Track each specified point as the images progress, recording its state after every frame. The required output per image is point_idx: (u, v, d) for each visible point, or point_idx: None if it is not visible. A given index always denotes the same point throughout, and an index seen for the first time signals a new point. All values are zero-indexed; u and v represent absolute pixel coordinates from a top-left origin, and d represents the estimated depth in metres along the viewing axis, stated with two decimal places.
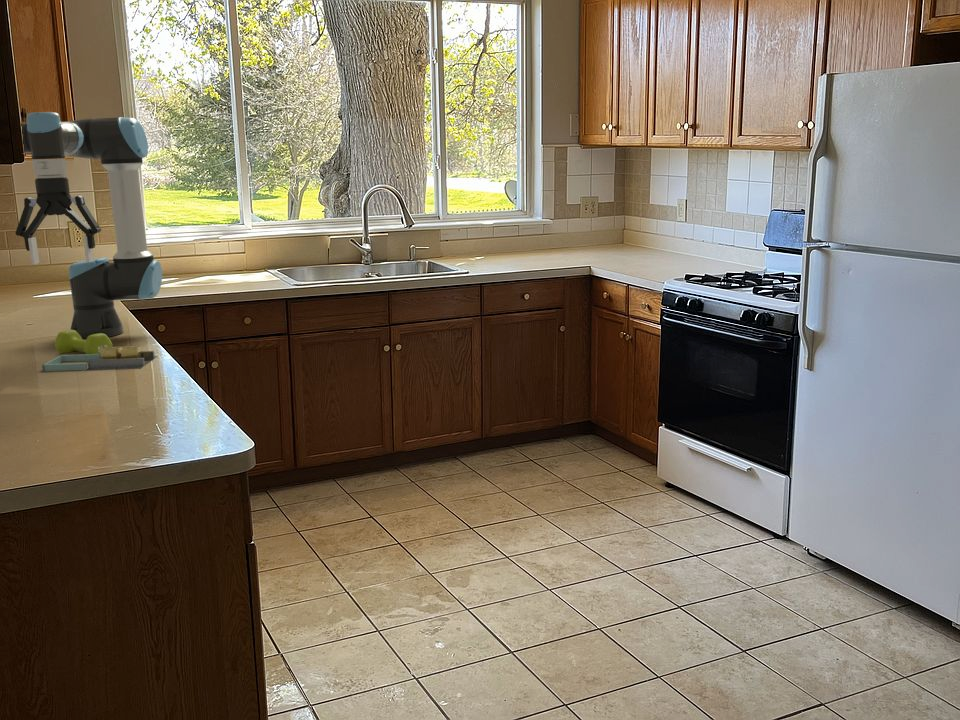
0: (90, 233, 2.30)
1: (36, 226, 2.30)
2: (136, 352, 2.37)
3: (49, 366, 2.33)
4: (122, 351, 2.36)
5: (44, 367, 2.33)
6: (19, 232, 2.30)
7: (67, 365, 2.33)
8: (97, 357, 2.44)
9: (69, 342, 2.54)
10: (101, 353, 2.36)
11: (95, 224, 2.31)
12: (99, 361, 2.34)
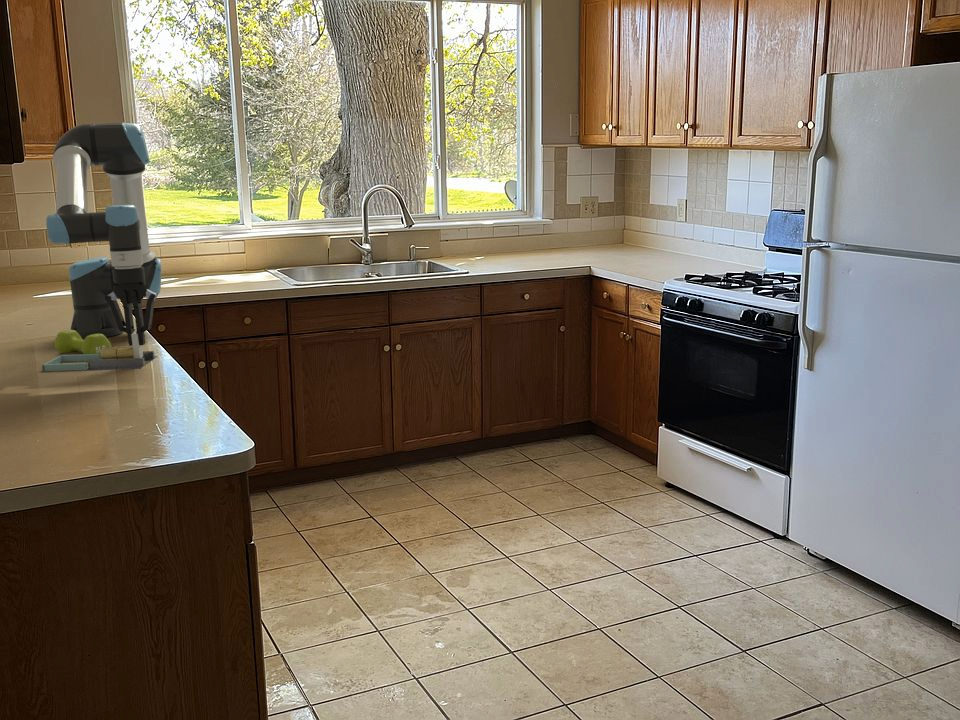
0: (140, 332, 2.36)
1: (131, 318, 2.36)
2: (131, 352, 2.37)
3: (49, 366, 2.33)
4: (118, 351, 2.37)
5: (44, 367, 2.33)
6: (122, 327, 2.36)
7: (67, 365, 2.33)
8: (97, 357, 2.44)
9: (68, 342, 2.54)
10: (101, 353, 2.36)
11: (149, 323, 2.37)
12: (99, 361, 2.34)
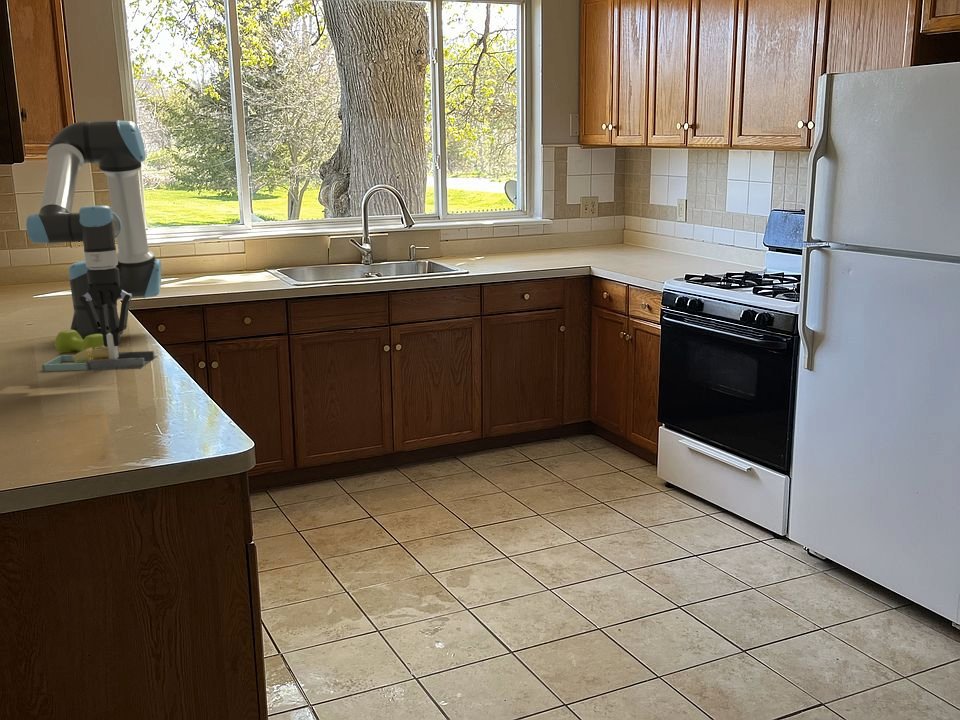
0: (115, 333, 2.36)
1: (106, 319, 2.36)
2: (106, 353, 2.37)
3: (49, 366, 2.33)
4: (93, 352, 2.37)
5: (44, 367, 2.33)
6: (97, 328, 2.36)
7: (67, 365, 2.33)
8: None
9: (68, 342, 2.54)
10: (74, 358, 2.37)
11: (125, 323, 2.37)
12: (99, 361, 2.34)
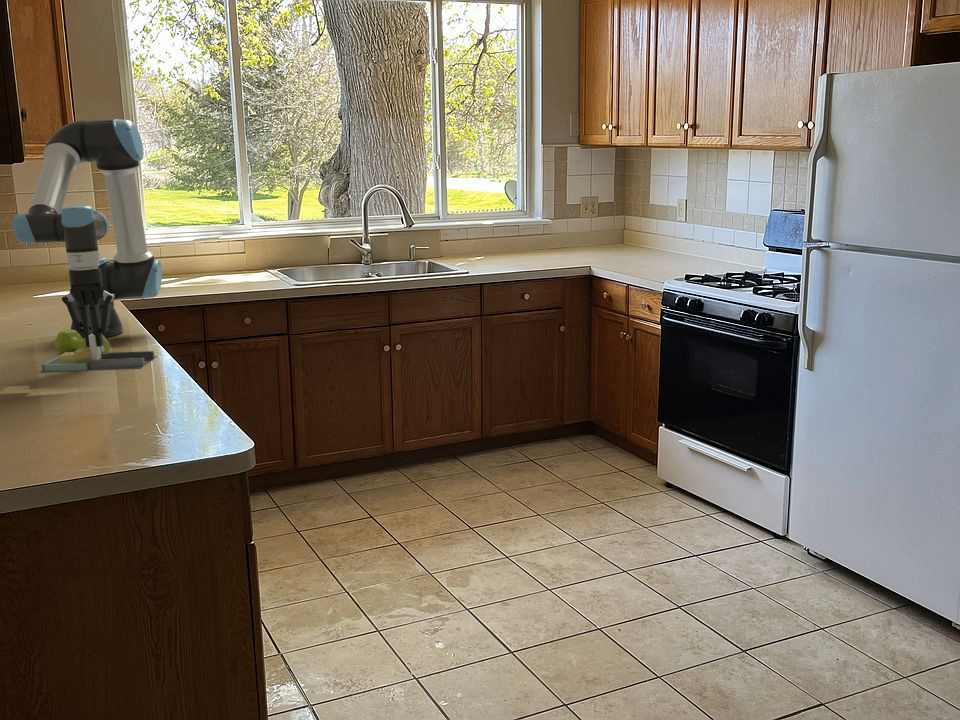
0: (98, 333, 2.36)
1: (88, 319, 2.36)
2: (89, 354, 2.37)
3: (49, 366, 2.33)
4: (75, 353, 2.36)
5: (44, 367, 2.33)
6: (79, 329, 2.36)
7: (67, 365, 2.33)
8: None
9: (68, 342, 2.54)
10: (60, 358, 2.37)
11: (107, 324, 2.37)
12: (99, 361, 2.34)
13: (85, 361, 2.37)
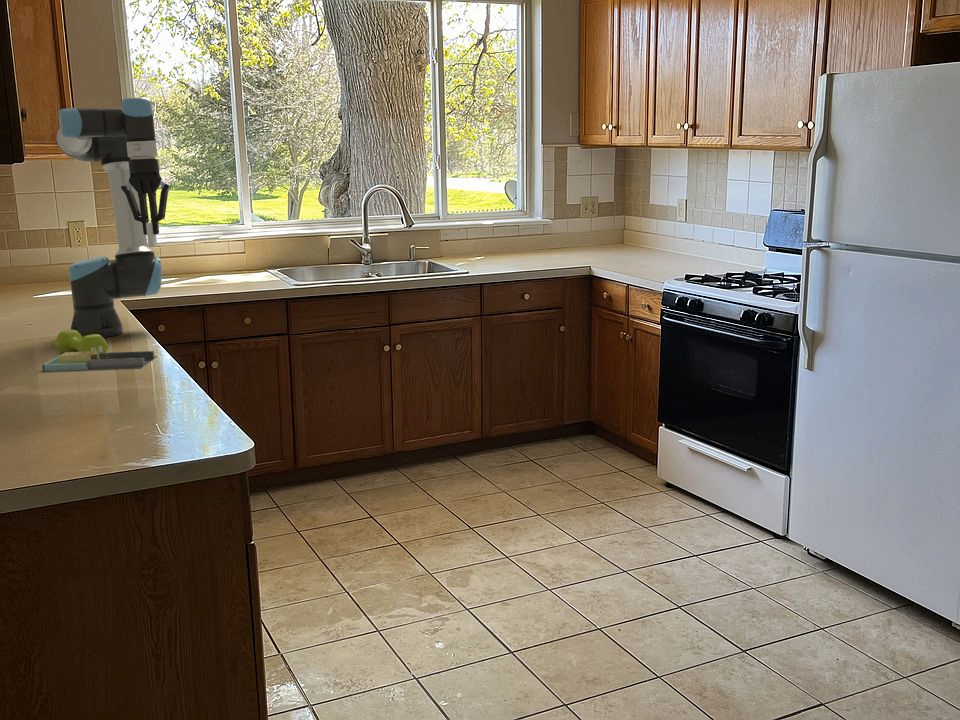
0: (155, 221, 2.49)
1: (145, 208, 2.49)
2: (89, 358, 2.37)
3: (49, 366, 2.33)
4: (76, 356, 2.37)
5: (44, 367, 2.33)
6: (137, 216, 2.48)
7: (67, 365, 2.33)
8: (97, 357, 2.44)
9: (68, 342, 2.55)
10: (60, 358, 2.37)
11: (163, 213, 2.49)
12: (99, 361, 2.34)
13: None
